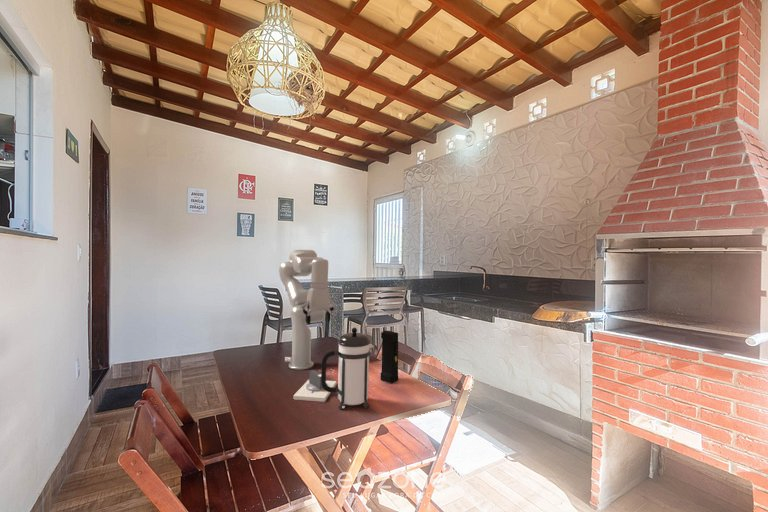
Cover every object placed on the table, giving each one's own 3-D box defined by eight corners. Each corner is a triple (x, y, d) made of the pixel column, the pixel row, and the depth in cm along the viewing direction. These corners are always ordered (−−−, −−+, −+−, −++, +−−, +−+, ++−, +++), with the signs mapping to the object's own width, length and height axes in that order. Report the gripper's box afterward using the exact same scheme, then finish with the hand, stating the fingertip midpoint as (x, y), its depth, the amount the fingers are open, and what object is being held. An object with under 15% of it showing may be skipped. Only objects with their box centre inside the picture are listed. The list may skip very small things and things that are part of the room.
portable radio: (400, 381, 159) (401, 327, 159) (392, 384, 155) (393, 329, 154) (388, 376, 164) (389, 325, 164) (379, 379, 160) (380, 326, 160)
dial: (302, 386, 147) (302, 372, 147) (320, 381, 153) (320, 367, 153) (312, 392, 140) (313, 378, 140) (331, 387, 146) (331, 373, 146)
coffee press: (351, 391, 146) (352, 321, 146) (379, 402, 136) (380, 327, 136) (319, 405, 133) (320, 328, 132) (348, 418, 123) (350, 335, 122)
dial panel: (293, 399, 137) (293, 395, 137) (308, 382, 155) (308, 378, 155) (324, 401, 136) (324, 397, 136) (336, 384, 153) (336, 380, 153)
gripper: (332, 283, 164) (330, 318, 165) (298, 285, 154) (296, 322, 155) (339, 286, 158) (338, 322, 159) (304, 288, 148) (303, 326, 149)
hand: (317, 322), depth 157 cm, fingers open, 9 cm apart
